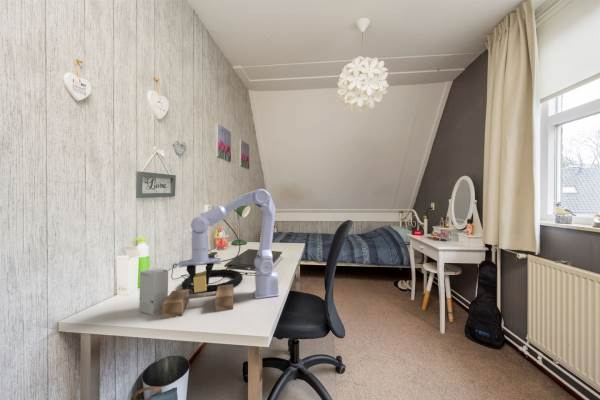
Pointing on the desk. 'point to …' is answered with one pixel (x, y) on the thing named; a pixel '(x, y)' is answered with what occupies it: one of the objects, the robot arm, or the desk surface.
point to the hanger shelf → (180, 298)
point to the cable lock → (211, 288)
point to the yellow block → (200, 282)
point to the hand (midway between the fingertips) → (201, 284)
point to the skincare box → (153, 290)
